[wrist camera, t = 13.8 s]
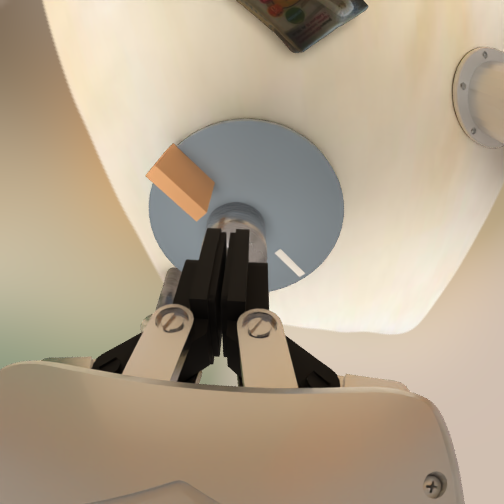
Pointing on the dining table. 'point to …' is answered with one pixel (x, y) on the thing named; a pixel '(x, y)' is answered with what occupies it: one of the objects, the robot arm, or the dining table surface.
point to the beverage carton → (304, 18)
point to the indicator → (166, 292)
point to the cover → (241, 227)
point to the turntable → (248, 194)
